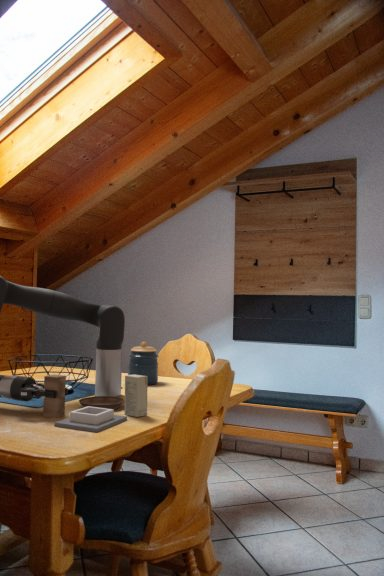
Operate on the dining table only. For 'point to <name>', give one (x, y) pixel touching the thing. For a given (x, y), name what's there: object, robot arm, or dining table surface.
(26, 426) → the dining table surface
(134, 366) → the canister
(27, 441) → the dining table surface
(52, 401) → the walnut square peg
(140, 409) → the skincare box
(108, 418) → the collar holder
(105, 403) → the saucer
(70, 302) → the robot arm
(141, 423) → the dining table surface
